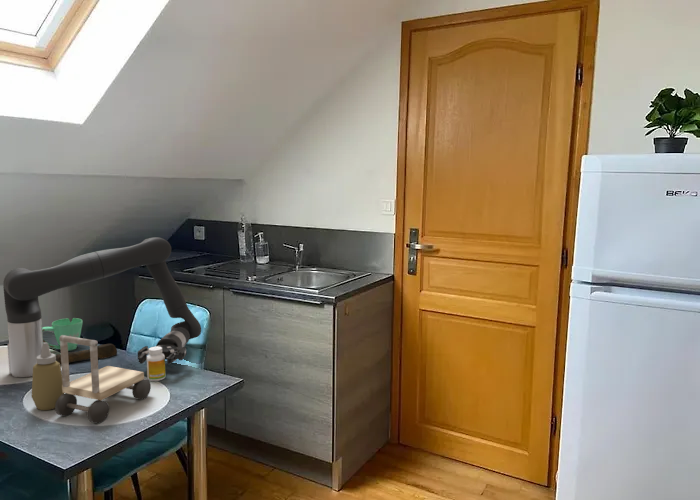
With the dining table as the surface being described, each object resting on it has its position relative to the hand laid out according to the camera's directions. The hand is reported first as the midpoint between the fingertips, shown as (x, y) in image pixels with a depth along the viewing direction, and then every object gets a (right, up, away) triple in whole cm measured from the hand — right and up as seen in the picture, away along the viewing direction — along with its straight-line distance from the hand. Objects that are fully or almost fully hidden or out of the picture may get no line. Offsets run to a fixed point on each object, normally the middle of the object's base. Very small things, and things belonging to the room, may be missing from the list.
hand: (154, 361), depth 173 cm
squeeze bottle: (-22, -9, -19) cm, 31 cm away
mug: (-42, -2, +26) cm, 50 cm away
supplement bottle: (0, -6, +2) cm, 6 cm away
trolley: (-7, -9, -19) cm, 22 cm away
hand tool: (-29, -3, +18) cm, 34 cm away
